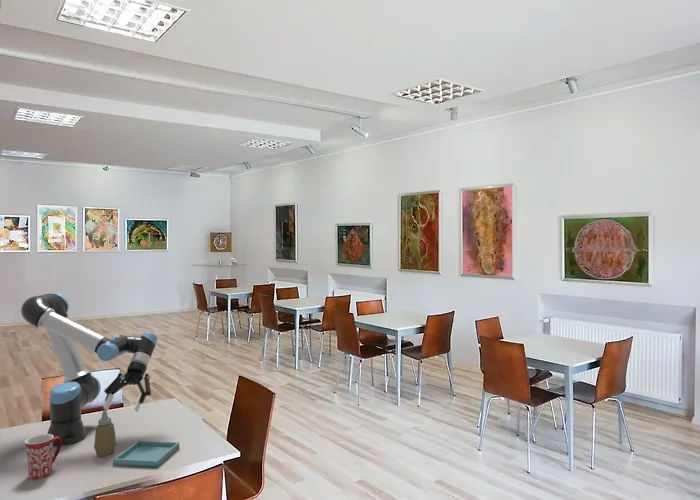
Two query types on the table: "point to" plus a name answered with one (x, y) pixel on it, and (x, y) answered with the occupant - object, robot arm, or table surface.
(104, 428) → the squeeze bottle
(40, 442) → the mug
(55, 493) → the table surface
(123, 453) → the tray
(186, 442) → the table surface
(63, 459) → the table surface
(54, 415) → the robot arm
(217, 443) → the table surface
